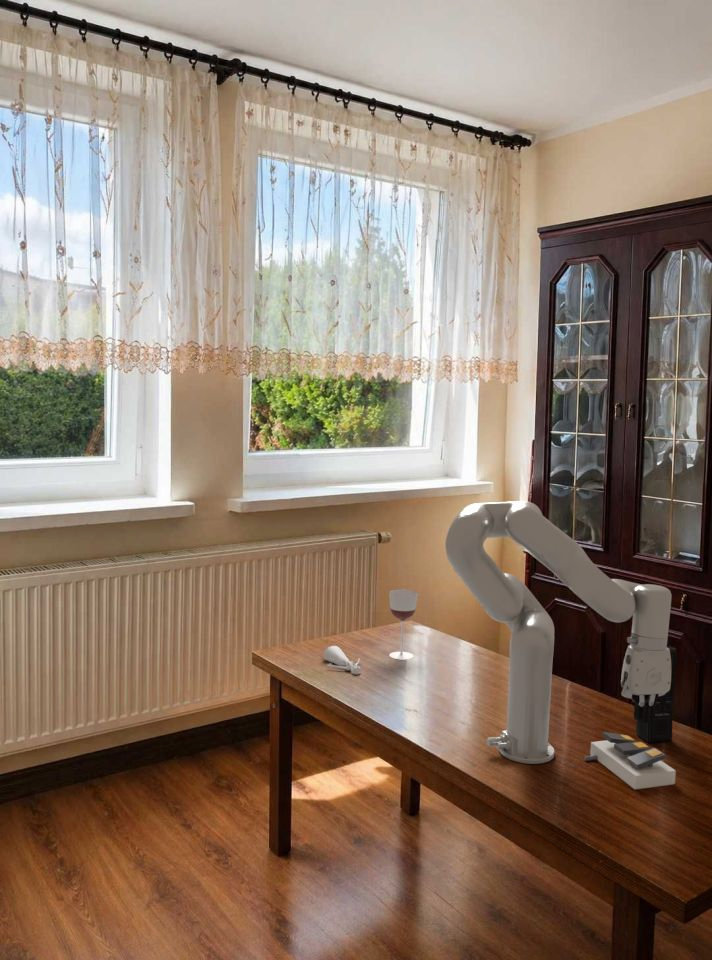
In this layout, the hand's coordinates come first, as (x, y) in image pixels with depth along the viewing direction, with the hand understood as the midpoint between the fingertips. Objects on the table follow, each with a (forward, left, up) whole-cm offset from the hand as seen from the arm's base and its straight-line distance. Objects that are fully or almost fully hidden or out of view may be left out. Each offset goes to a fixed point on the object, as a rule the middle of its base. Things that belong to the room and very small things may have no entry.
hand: (641, 721), depth 186 cm
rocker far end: (-2, -5, -7) cm, 9 cm away
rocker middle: (-2, 0, -7) cm, 8 cm away
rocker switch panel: (-3, 0, -11) cm, 11 cm away
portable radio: (+13, +13, -11) cm, 21 cm away
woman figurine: (-46, +79, -11) cm, 92 cm away
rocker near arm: (-2, +5, -7) cm, 9 cm away
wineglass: (-26, +84, -11) cm, 88 cm away
